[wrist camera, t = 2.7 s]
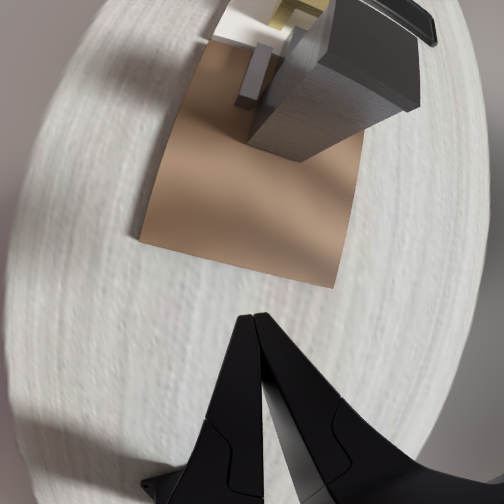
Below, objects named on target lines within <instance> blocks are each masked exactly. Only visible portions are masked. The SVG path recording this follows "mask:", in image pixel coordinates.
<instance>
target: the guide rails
mask: <svg viewBox="0 0 504 504" xmlns="http://www.w3.org/2000/svg"><path fill="white" fill-rule="evenodd" d="M272 50H273V47H270V46H267V45H264V44H262V43H259V42H258V43H257V45H256V46H255V48H254V50H253V52H252V54H251V57H250V60H249V62H248V65H247V68H246V71H245V74H244V76H243V79H242V82H241V85H240V88H239V91H238V94H237V97H236V100H235V103H234V106H237V107H240V108H243V109H246V110H249V111H250V110H251V108H252V107H253V105H254V104H255V102H256V101H257V98H258V95H259V91H260V88H261V85H262V82H263V79H264V75H265V72H266V69H267V66H268V63H269V60H270V57H271V53H272Z"/></svg>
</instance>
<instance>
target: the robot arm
mask: <svg viewBox="0 0 504 504" xmlns="http://www.w3.org/2000/svg"><path fill="white" fill-rule="evenodd" d="M262 387H263V391H264V394H265V397H266V401H267V404H268V407H269V410H270V413H271V417H272V420H273V423H274V426H275V429H276V432H277V435H278V439H279V442H280V445H281V448H282V451H283V454H284V457H285V460H286V463H287V466H288V469H289V472H290V475H291V478H292V481H293V484H294V487H295V490H296V493H297V496H298V499H299V501H300V504H504V473H503V474H502V475H500V476H498V477H496V478H494V479H492V480H490V481H488V482H485V483H482V482H478V481H473V480H469V479H465V478H461V477H457V476H453V475H450V474H446V473H442V472H439V471H435V470H432V469H429V468H427V467H425V466H423V465H421V464H419V463H417V462H416V461H414V460H413V459H411V458H410V457H409V456H407V455H406V454H405V453H403V452H402V451H401V450H400V449H398V448H397V447H396V446H395V445H393V444H392V443H391V442H390V441H388V440H387V439H386V438H385V437H383V436H382V435H381V434H380V433H379V432H377V431H376V430H375V429H374V428H373V427H372V426H370V425H369V424H368V423H367V422H366V421H365V420H364V419H363V418H362V417H361V416H360V415H359V414H358V413H357V412H356V411H355V410H354V409H353V408H352V407H351V406H350V405H349V404H348V403H347V402H346V400H345V399H344V398H343V397H341V395H340V394H339V393H338V392H337V391H336V390H335V388H334V387H333V386H332V385H331V384H330V383H329V382H328V381H327V380H326V378H325V377H324V376H323V375H322V374H321V373H320V372H319V371H318V369H317V368H316V367H315V366H314V365H313V364H312V363H311V362H310V360H309V359H308V358H307V357H306V356H305V355H304V354H303V352H302V351H301V350H300V349H299V348H298V347H297V346H296V344H295V343H294V342H293V341H292V340H291V339H290V338H289V336H288V335H287V334H286V333H285V332H284V331H283V330H282V328H281V327H280V326H279V325H278V324H277V323H276V321H275V320H274V319H273V318H272V317H271V316H270V314H269V313H267V312H264V313H256V314H254V315H253V316H252V315H251V314H248V315H240V316H238V317H237V320H236V323H235V326H234V329H233V332H232V335H231V338H230V342H229V345H228V348H227V351H226V354H225V357H224V360H223V363H222V366H221V369H220V373H219V376H218V379H217V382H216V385H215V388H214V391H213V394H212V397H211V400H210V403H209V406H208V409H207V413H206V416H205V420H204V421H203V424H202V427H201V430H200V433H199V436H198V439H197V441H196V444H195V447H194V449H193V451H192V454H191V456H190V458H189V460H188V462H187V464H186V467H185V469H184V470H181V471H178V472H174V473H171V474H167V475H163V476H159V477H155V478H151V479H147V480H143V481H141V483H140V486H141V488H142V489H143V490H144V491H145V492H146V493H147V494H148V495H149V496H150V497H151V498H152V499H153V500H154V501H155V504H264V469H263V423H262ZM340 397H341V398H340Z"/></svg>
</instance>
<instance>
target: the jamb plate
mask: <svg viewBox="0 0 504 504" xmlns="http://www.w3.org/2000/svg"><path fill="white" fill-rule="evenodd" d="M277 1H278V0H230V2H229V4H228V6H227V8H226V10H225V12H224V14H223V16H222V17H221V19H220V21H219V23H218V25H217V27H216V29H215V31H214V33H213V36H212V40H215V41H219V42H222V43H226V44H229V45H233V46H236V47H239V48H242V49H246V50H249V51H252V52H253V50H254V48H255V46H256V45H257V43H258V42H259V43H262V44H264V45H267V46H270V47H273V50H272V53H271V57H270V58H272V59H274V60H277V61H278V59H279V56H280V53H281V50H282V46H283V43H284V41H285V40H286V38H287V37H288V35H289V34H290V32H291V31H292V30H293V28H294V27H295V26H297V27H300V28H302V29H305V30H307V31H308V30H309V29H310V28H311V26H312V25H313V24H314V23H315V21H316V20H317V19H318V18H316V17H314V16H312V15H310V14H307V13H305V12H303V11H300V10H298V9H295V10H294V12H293V13H292V15H291V16H290V18H289V19H288V21H287V23H286V24H285V26H284V27H283V29H282V30H281V31H279V30H277V29H274V28H271V27H268V24H269V21H270V18H271V16H272V13H273V11H274V8H275V6H276V3H277Z"/></svg>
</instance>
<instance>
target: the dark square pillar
mask: <svg viewBox="0 0 504 504" xmlns="http://www.w3.org/2000/svg"><path fill="white" fill-rule="evenodd" d="M418 107H420V70H419V53H418V41H417V38H416V37H415V36H414V35H412V34H411V33H409V32H408V31H407V30H405V29H404V28H402V27H401V26H399V25H398V24H397V23H395V22H394V21H392V20H391V19H389V18H387V17H386V16H384V15H383V14H381V13H379V12H378V11H376V10H375V9H373V8H371V7H369V6H368V5H366V4H364V3H363V2H361V1H359V0H329V5H328V7H327V8H326V9H325V10H324V11H323V13H322V14H321V15H320V16H319V18H318V19H317V20H316V21H315V23H314V24H313V25H312V26H311V28H310V29H309V30H308V31H307V30H305V29H302V28H300V27H297V26H295V27H294V28H293V30H292V31H291V32H290V34H289V35H288V37H287V38H286V40H285V41H284V43H283V46H282V50H281V53H280V56H279V59H278V63H277V66H276V69H275V73H274V76H273V79H272V80H271V81H270V83H269V84H268V86H267V87H266V89H265V90H264V92H263V93H262V94H261V96H260V99H259V102H258V106H257V109H256V112H255V116H254V119H253V123H252V126H251V130H250V133H249V136H248V140H247V143H246V144H247V145H250V146H253V147H256V148H259V149H262V150H265V151H268V152H271V153H274V154H277V155H280V156H282V157H285V158H288V159H291V160H293V161H296V162H299V163H301V162H303V161H305V160H307V159H309V158H311V157H312V156H314V155H316V154H318V153H320V152H322V151H324V150H326V149H327V148H329V147H331V146H333V145H335V144H337V143H339V142H341V141H343V140H345V139H347V138H349V137H351V136H352V135H354V134H356V133H358V132H360V131H362V130H364V129H366V128H368V127H370V126H372V125H374V124H376V123H378V122H380V121H383V120H385V119H387V118H389V117H391V116H393V115H395V114H397V113H399V112H401V111H403V110H404V111H405V112H410V111H412V110H414V109H416V108H418Z"/></svg>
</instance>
